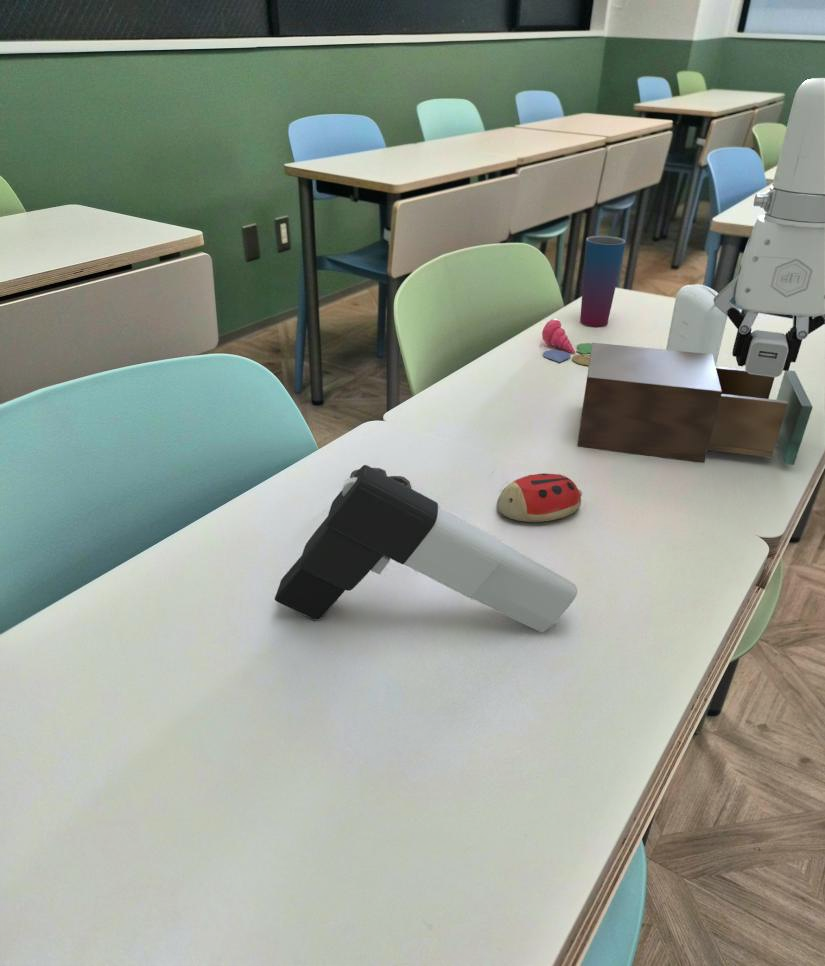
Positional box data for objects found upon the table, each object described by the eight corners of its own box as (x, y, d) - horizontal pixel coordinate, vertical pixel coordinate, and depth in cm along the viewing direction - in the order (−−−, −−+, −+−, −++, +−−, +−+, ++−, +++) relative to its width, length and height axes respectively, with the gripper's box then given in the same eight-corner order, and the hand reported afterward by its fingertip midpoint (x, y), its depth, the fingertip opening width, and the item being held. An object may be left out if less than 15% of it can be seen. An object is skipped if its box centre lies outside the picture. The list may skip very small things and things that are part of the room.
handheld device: (282, 575, 67) (358, 454, 60) (484, 673, 72) (577, 571, 65) (272, 603, 64) (352, 478, 57) (485, 704, 68) (583, 600, 61)
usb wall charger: (744, 373, 87) (752, 340, 85) (743, 353, 93) (751, 323, 91) (780, 378, 86) (790, 345, 84) (777, 358, 91) (786, 327, 89)
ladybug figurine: (486, 500, 83) (488, 473, 81) (563, 486, 85) (567, 460, 84) (511, 532, 77) (514, 504, 75) (593, 516, 80) (598, 489, 78)
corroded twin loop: (367, 469, 88) (367, 462, 87) (421, 491, 84) (421, 483, 83) (339, 486, 84) (339, 479, 84) (394, 510, 80) (394, 502, 80)
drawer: (788, 426, 98) (805, 371, 94) (804, 466, 88) (824, 408, 84) (666, 412, 101) (677, 358, 97) (669, 449, 92) (682, 392, 88)
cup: (605, 331, 132) (618, 246, 125) (569, 324, 135) (580, 241, 128) (617, 321, 137) (630, 238, 129) (582, 314, 140) (594, 234, 133)
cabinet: (697, 419, 101) (712, 354, 96) (704, 462, 91) (722, 391, 86) (582, 406, 104) (592, 342, 100) (577, 446, 94) (587, 376, 89)
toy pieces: (523, 354, 122) (526, 329, 119) (552, 336, 130) (555, 312, 127) (591, 371, 116) (595, 344, 114) (617, 350, 124) (621, 325, 122)
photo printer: (661, 352, 123) (675, 279, 117) (684, 350, 124) (699, 277, 118) (693, 375, 115) (711, 297, 108) (718, 373, 116) (737, 296, 109)
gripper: (726, 208, 78) (691, 368, 88) (900, 218, 75) (843, 384, 84) (719, 197, 85) (687, 347, 94) (879, 205, 81) (829, 360, 91)
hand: (761, 363), depth 89 cm, fingers closed on usb wall charger, 4 cm apart
